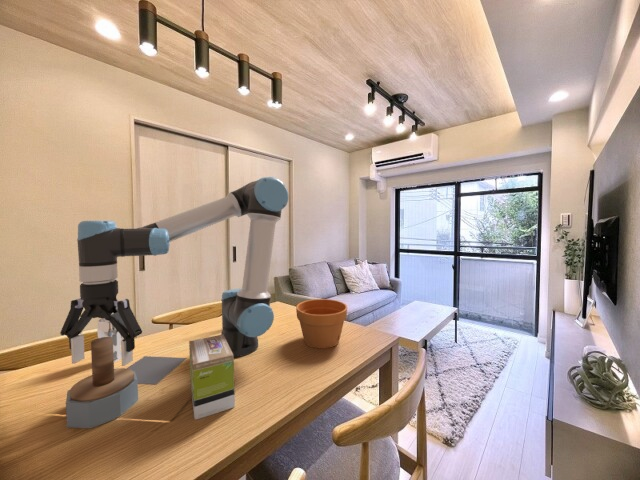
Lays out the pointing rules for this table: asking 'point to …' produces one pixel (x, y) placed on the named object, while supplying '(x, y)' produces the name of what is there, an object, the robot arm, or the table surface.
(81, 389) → the lid
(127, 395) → the bowl
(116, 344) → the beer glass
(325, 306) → the flower pot
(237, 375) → the table surface
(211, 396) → the tea box
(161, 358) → the mat
